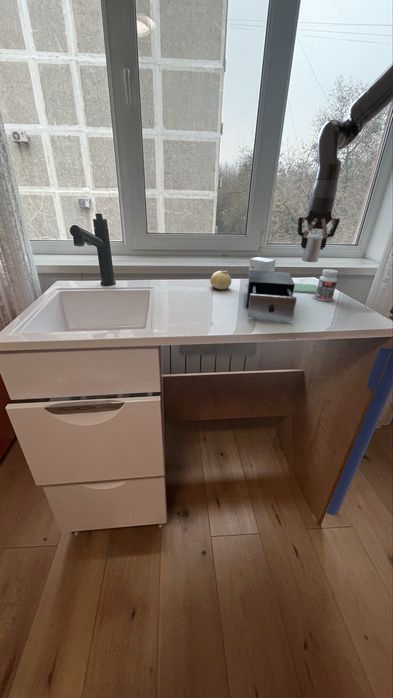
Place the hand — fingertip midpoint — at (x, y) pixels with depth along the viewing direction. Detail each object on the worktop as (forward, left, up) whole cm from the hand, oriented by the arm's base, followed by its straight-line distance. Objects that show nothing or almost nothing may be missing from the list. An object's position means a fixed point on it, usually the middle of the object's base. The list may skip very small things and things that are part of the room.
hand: (312, 248), depth 104 cm
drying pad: (0, 0, -15) cm, 15 cm away
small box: (+17, +1, -15) cm, 23 cm away
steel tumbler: (0, 0, -4) cm, 4 cm away
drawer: (+15, +30, -14) cm, 37 cm away
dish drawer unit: (+15, +19, -15) cm, 28 cm away
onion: (+32, +7, -15) cm, 36 cm away
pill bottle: (-5, +11, -15) cm, 19 cm away
